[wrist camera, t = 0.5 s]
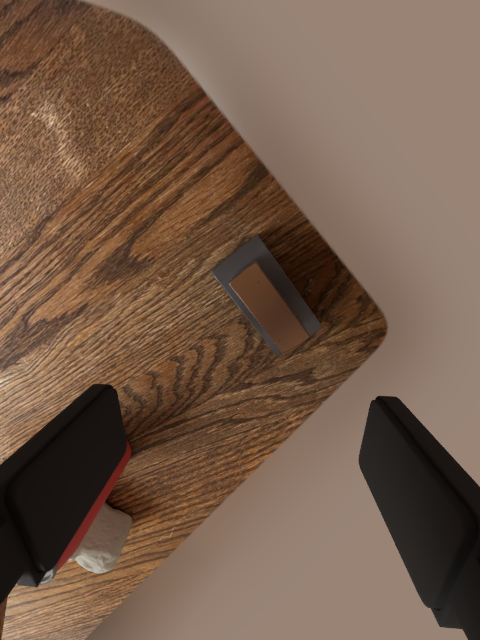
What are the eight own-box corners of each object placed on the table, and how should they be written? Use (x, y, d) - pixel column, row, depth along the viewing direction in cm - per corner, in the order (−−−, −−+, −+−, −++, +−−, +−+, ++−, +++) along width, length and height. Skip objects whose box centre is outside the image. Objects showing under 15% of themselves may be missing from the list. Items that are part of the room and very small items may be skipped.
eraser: (215, 268, 22) (201, 277, 17) (257, 234, 21) (257, 231, 16) (275, 345, 24) (280, 375, 19) (316, 318, 23) (335, 342, 18)
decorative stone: (44, 531, 35) (-11, 586, 25) (88, 469, 38) (54, 497, 28) (107, 568, 35) (76, 636, 25) (145, 504, 38) (130, 543, 28)
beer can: (76, 446, 31) (-29, 565, 19) (97, 415, 29) (-6, 527, 18) (119, 470, 32) (43, 598, 20) (142, 442, 30) (73, 565, 18)
